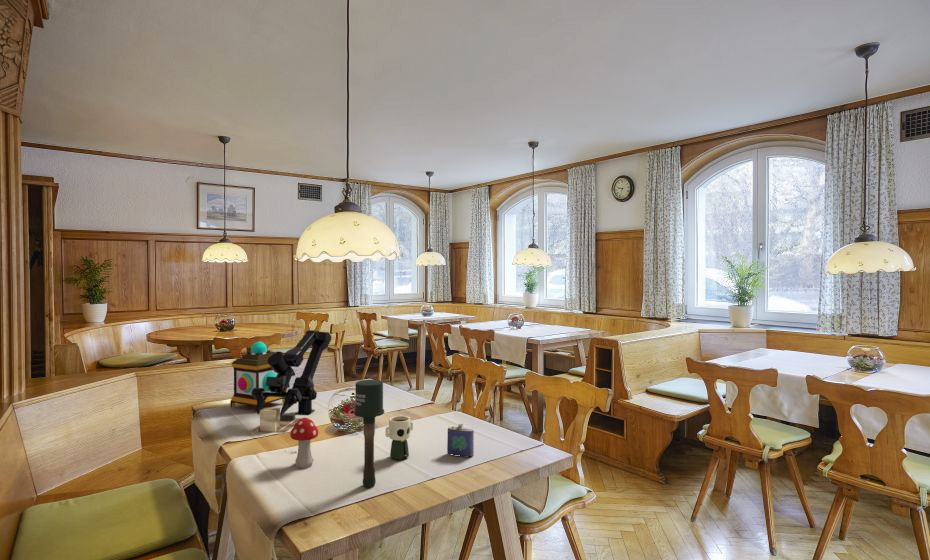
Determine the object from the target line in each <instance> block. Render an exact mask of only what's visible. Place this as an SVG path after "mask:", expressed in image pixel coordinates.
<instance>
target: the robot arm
mask: <svg viewBox="0 0 930 560" xmlns="http://www.w3.org/2000/svg"><path fill="white" fill-rule="evenodd" d="M331 341H332V335H331V333H330V332H329V331H319V330H317V329H316V330H315V329H314V330H313V329H312V330H311V329H308V330H306V332H305V334H304V336H303V337H302V338H301V339H300V340H299V341H298V342H297V344H296V345H295V346H294V347H293V348H290V349H289V350H288V349H287V351H286V352H282V351H276V352H275V353H274V354H273V355H272V356H270V357H269V358H268V361H267V362H268V364H269V365H270V366H271V368H272V369H273V370H274V372H276V373H277V376H276V377H267V379H266V383H265V385H267V386H269V387H268V389H269V390H271V391H270V392H267V391H265V390H264V389H263V388H253V390H252V392H251V394H252V396H253V397H254V399H255V400H257V412H256V414H257V415H260V410H262V409H264V406H265V405H266V404H265V400H266V398H267V397H285V402H284V404H283V403H282V406H281V408H280V415H282V414H286V412H287V411H288V410H289V409H290V408H291V407H293V406H294V405H295V404H297V406H298V407H297V411H296V412H295V413H294V414H295V415H301V416H302V415H306V416H308V415H311V414H312V413H314V412H315V411H316V410H315V409H313V405H312V404H313V403H312V402H313V401H314V400H316V399H317V397H318V396H317V395H318V393H317V392H316V390H315V388H314V387H315V384H314V381H313V379H314V377H315V374H316V370H317V368H318V364H319V362H320V359H321V357H322V353H323V352H324V351H325V349H327V348H328V347H329V345H330V343H331ZM309 348H311V350H310V352H309V355H308V358H307V360H306V363H305V366H304V369H303V371H302V373H301V375H300V376H298V377H297V376H296V372H295V370H294V369H293V368H299V367H300V366H301V364H302V363H303V360H304V355H305V353H307V351H308V350H309ZM283 353H284V354H283ZM292 367H293V368H292ZM295 376H296V378H295V379H294V382H293V384H292V387H291V385H290V382H291V379H292V377H295ZM290 387H291V388H290ZM287 389H288V390H287Z"/></svg>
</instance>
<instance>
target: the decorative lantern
mask: <svg viewBox="0 0 930 560" xmlns="http://www.w3.org/2000/svg"><path fill="white" fill-rule="evenodd" d="M272 355H273V352H271V351H270V350H268V348H267V345H266V344H265V343H264V342H263V341H256V342H255V343H253V344H252V345H251V348H250V351H248V352H247V353H246V354H244V355H243V356H241V357H237V358H236V359H235V360H233V361H232V362H231V363H230V364H231V366H232V367H233V394H232V395H233V396H232V397H231V399H230V408H231V409H234V408H235V406H236V404H240V405H247V406H252V407H254V409H255V413H257V400H255V399H254V397H253V396H252V394H251V392H252V390H253V388H263V389H264V390H265V391H267V392H270V391H271V390H269V389H268V387H269V386H267V385H265V383H266V379H267V377H276V376H277V373H276V372H274V370H273V369H272V368H271V366H270V365H269V364H268V362H267V361H268V358H269V357H270V356H272ZM280 400H282V401H281V402H282V405H283V404H284V402H285V397H267V398H266V400H265V404H264V405H266V404H267V405H268V404H271V403H273V402H277V401H280Z"/></svg>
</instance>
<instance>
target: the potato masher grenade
mask: <svg viewBox="0 0 930 560" xmlns="http://www.w3.org/2000/svg"><path fill="white" fill-rule="evenodd" d="M354 397H355V405H354V407H355V409H354V411H353V414H354V416H356V417H359V418H362V419H363V438H364V450H363V451H364V455H363V456H364V461H363V462H364V466H363V472H362V476H363V477H362V485H363V487H364V488H366V489H367V488H369V489H370V488H373V487H375V485H376V480H377V479H376V469H375V466H374V465H375V462H374V461H375V435H376V433H375V432H376V430H375V429H376V427H375V426H376V417H379V416H382V415H384V414H385V409H384V382H383V381H382V380H381V379H380V380H379V379H363V380H360V381H357V382H355V395H354Z"/></svg>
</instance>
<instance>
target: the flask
mask: <svg viewBox="0 0 930 560" xmlns="http://www.w3.org/2000/svg"><path fill="white" fill-rule="evenodd" d="M463 426H464V424H463V423H458V425H457V426H454V425H453V426H449V427H448V428H447V445H446V446H447V449H446V450H447V451H446V452H447V453H448V454H453V455H460V456H473V457H474V454H475V453H474V452H475V451H474V446H475V445H474V441H475V440H474V438H475V437H474V433H475V432H474V431H475V430H474V429H473V428H463ZM448 454H447V455H448ZM460 456H459V457H460Z"/></svg>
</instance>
